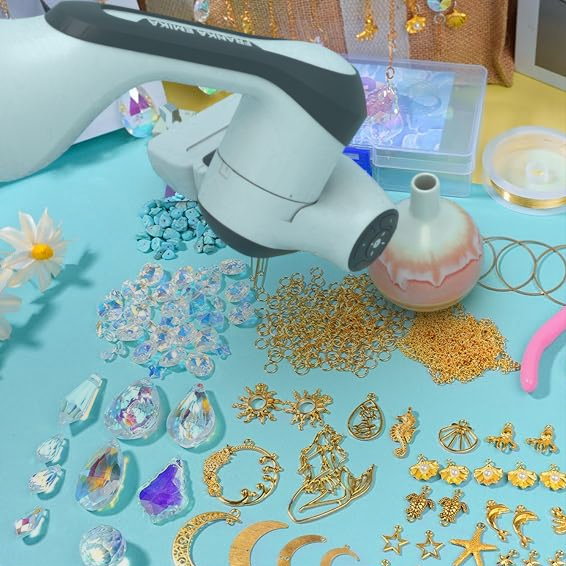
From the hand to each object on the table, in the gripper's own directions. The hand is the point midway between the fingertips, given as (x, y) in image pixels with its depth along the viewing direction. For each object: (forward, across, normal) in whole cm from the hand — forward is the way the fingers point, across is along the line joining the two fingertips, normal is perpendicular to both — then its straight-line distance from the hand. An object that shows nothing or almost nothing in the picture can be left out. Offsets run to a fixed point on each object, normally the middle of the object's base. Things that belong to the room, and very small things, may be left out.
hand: (202, 89), depth 90 cm
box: (+12, 0, +23) cm, 26 cm away
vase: (-23, -12, +23) cm, 35 cm away
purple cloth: (+12, 0, +23) cm, 26 cm away
